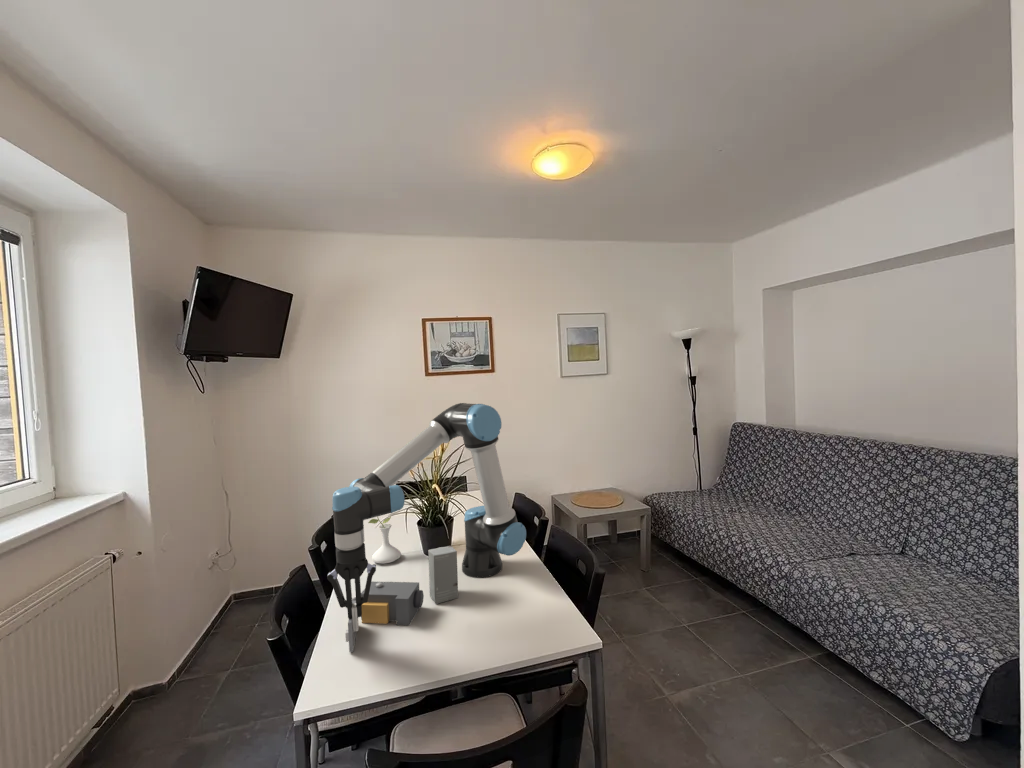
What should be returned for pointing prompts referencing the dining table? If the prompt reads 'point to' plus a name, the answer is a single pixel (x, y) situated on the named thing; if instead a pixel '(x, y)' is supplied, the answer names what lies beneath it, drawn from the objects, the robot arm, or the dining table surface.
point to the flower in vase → (385, 545)
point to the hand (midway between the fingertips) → (355, 628)
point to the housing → (392, 602)
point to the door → (351, 634)
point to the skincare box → (443, 574)
